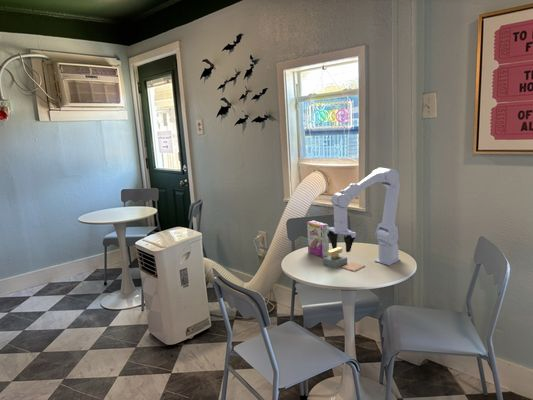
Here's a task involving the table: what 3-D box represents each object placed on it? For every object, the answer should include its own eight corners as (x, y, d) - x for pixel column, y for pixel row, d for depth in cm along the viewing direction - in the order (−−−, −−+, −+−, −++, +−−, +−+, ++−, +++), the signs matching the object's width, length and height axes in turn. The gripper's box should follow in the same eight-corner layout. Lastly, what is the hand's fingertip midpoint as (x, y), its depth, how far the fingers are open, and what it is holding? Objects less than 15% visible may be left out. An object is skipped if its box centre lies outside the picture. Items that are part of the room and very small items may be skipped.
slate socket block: (334, 259, 189) (333, 253, 188) (347, 263, 183) (347, 257, 182) (323, 264, 184) (322, 258, 183) (336, 268, 178) (336, 262, 177)
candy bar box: (307, 252, 201) (306, 221, 197) (314, 250, 203) (313, 220, 200) (322, 258, 192) (321, 226, 188) (329, 255, 194) (328, 224, 191)
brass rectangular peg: (338, 260, 186) (338, 247, 185) (342, 262, 185) (342, 248, 183) (327, 265, 181) (327, 251, 180) (331, 266, 180) (331, 252, 178)
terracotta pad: (352, 263, 183) (352, 262, 183) (365, 266, 177) (365, 265, 177) (341, 267, 178) (341, 266, 178) (354, 271, 172) (354, 270, 172)
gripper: (321, 219, 172) (322, 248, 175) (348, 224, 161) (349, 255, 164) (332, 216, 177) (332, 244, 179) (358, 221, 166) (359, 251, 169)
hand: (341, 249), depth 172 cm, fingers open, 7 cm apart
